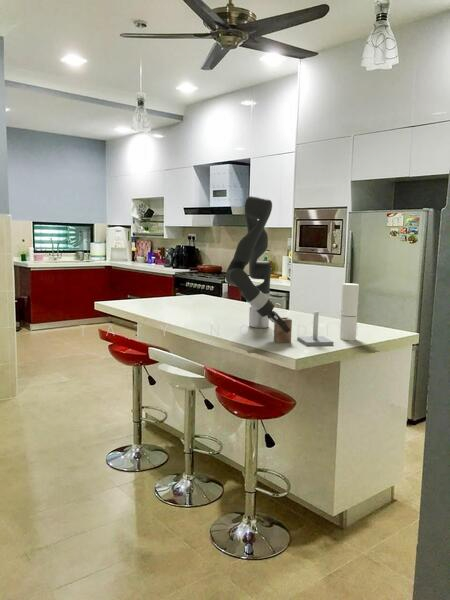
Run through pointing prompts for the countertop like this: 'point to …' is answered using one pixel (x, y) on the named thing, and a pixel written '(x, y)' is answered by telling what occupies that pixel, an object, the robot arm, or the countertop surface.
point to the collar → (280, 334)
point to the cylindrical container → (349, 311)
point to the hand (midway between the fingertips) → (285, 329)
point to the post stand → (315, 336)
